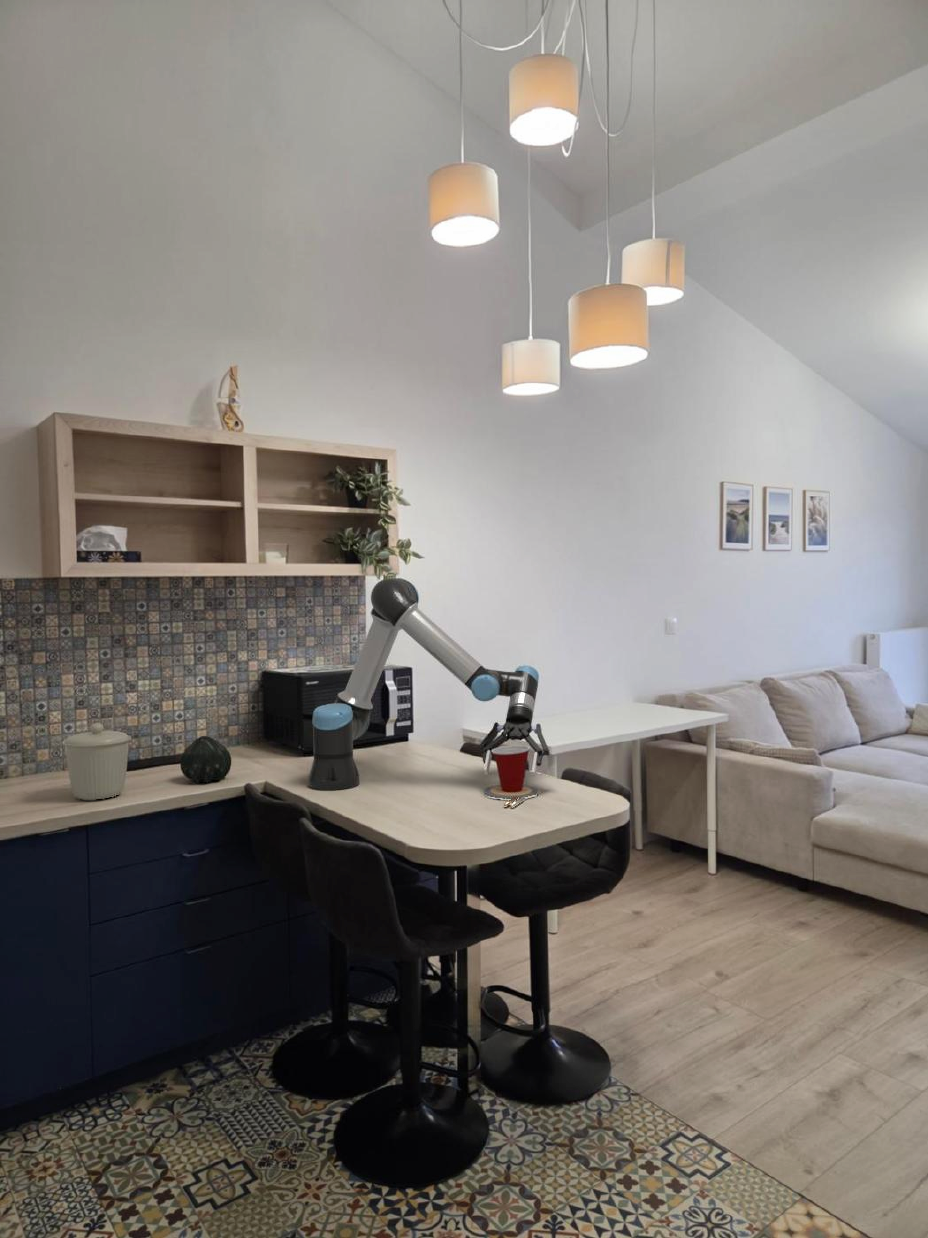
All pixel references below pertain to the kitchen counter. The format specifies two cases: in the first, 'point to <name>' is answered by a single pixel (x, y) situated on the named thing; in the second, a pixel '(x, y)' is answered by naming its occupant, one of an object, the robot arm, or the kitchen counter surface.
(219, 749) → the squash
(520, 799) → the wire stubs
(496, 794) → the coaster
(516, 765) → the plastic cup
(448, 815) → the kitchen counter surface
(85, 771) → the canister
